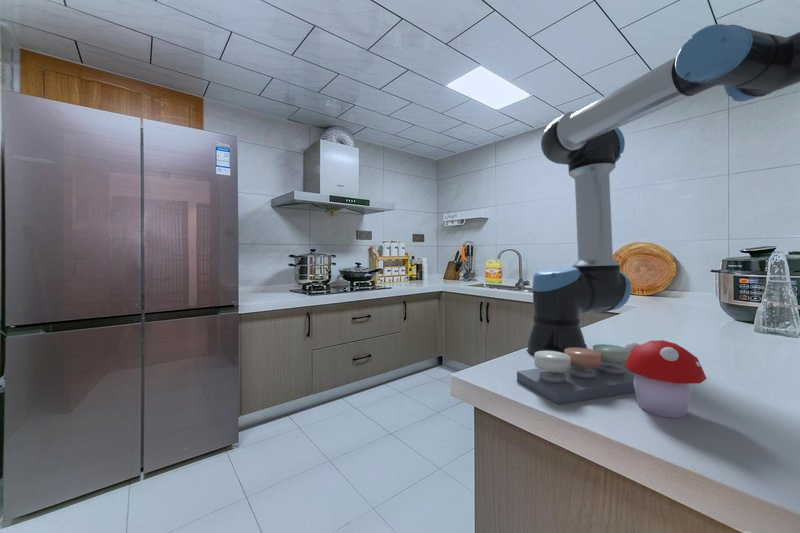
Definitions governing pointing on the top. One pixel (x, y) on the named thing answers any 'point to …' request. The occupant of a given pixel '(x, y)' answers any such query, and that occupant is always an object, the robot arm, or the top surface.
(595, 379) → the button board
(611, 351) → the sage cap
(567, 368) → the white flat dome
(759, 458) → the top surface
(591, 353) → the terracotta cap
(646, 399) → the mushroom
